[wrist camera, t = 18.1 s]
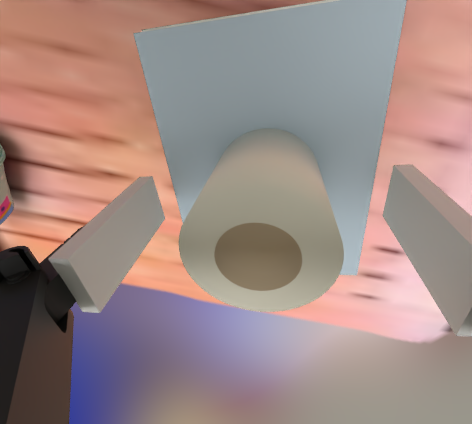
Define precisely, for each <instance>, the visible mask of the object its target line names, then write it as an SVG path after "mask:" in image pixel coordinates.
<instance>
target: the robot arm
mask: <svg viewBox="0 0 472 424" xmlns="http://www.w3.org/2000/svg"><path fill="white" fill-rule="evenodd" d="M383 217H384V219H385V220H386V222H387V224H388V225H389V227H390V229H391V230H392V232H393V233H394V235H395V237H396V238H397V240H398V242H399V243H400V245H401V247H402V248H403V250H404V251H405V253H406V255H407V256H408V258H409V260H410V261H411V263H412V265H413V266H414V268H415V269H416V271H417V273H418V274H419V276H420V278H421V279H422V281H423V282H424V284H425V286H426V287H427V289H428V291H429V292H430V294H431V296H432V297H433V299H434V300H435V302H436V304H437V305H438V307H439V309H440V310H441V312H442V314H443V315H444V317H445V318H446V320H447V322H448V323H449V325H450V327H451V328H452V330H453V332H454V333H455V335H456V336H472V216H471V215H469V214H468V213H467V212H466V211H465V210H464V209H463V208H461V207H460V206H459V205H458V204H457V203H456V202H455V201H453V200H452V199H451V198H450V197H449V196H448V195H447V194H445V193H444V192H443V191H442V190H441V189H440V188H439V187H437V186H436V185H435V184H434V183H433V182H432V181H431V180H429V179H428V178H427V177H426V176H425V175H424V174H422V173H421V172H420V171H419V170H418V169H417V168H416V167H414V166H413V165H394V166H393V171H392V176H391V180H390V185H389V189H388V194H387V198H386V203H385V207H384V212H383ZM164 219H165V216H164V213H163V210H162V206H161V203H160V200H159V197H158V193H157V190H156V187H155V183H154V180H153V177H152V176H149V177H139V178H138V179H137V180H136V181H134V182H133V183H132V184H131V185H130V186H129V187H128V188H127V189H126V190H124V191H123V192H122V193H121V194H120V195H119V196H118V197H117V198H115V199H114V200H113V201H112V202H111V203H110V204H109V205H108V206H106V207H105V208H104V209H103V210H102V211H101V212H100V213H99V214H98V215H96V216H95V217H94V218H93V219H92V220H91V221H90V222H89V223H87V224H86V225H85V226H83V227H81V228H80V229H78V230H77V231H76V232H75V233H74V234H73V235H71V238H68V239H67V240H66V241H65V242H64V244H61V245H60V246H59V247H58V248H57V249H56V250H54V251H53V252H52V253H51V254H50V255H49V256H48V257H47V258H45V259H44V260H43V261H42V262H41V263H40V264H39V263H38V261H37V260H36V258H35V257H34V255H33V254H32V252H31V251H30V249H29V248H28V247H26V246H17V247H13V248H9V249H6V250H4V251H1V252H0V424H69V412H70V390H71V366H72V344H73V321H74V316H73V312H72V311H71V309H70V308H71V307H72V306H73V304H74V303H75V302H77V304H78V305H79V307H80V308H81V310H82V311H83V312H95V313H100V312H101V311H102V309H103V308H104V306H105V305H106V303H107V302H108V300H109V299H110V298H111V296H112V295H113V293H114V292H115V290H116V289H117V287H118V286H119V284H120V283H121V282H122V280H123V279H124V277H125V276H126V274H127V273H128V271H129V270H130V269H131V267H132V266H133V264H134V263H135V261H136V260H137V258H138V257H139V256H140V254H141V253H142V251H143V250H144V248H145V247H146V245H147V244H148V243H149V241H150V240H151V238H152V237H153V235H154V234H155V232H156V231H157V230H158V228H159V227H160V225H161V224H162V222H163V221H164Z"/></svg>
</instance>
